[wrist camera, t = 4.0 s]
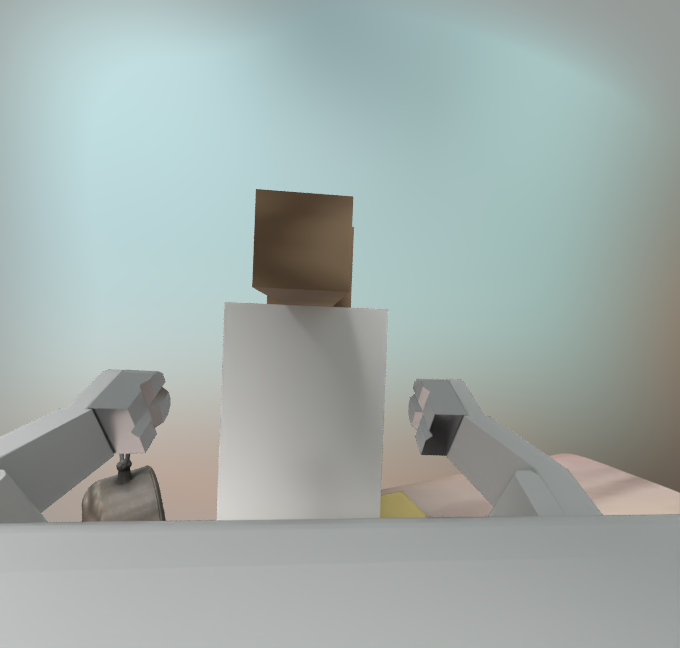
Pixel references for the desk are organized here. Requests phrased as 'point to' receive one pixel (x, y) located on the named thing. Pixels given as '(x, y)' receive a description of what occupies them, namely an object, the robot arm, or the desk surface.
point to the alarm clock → (124, 496)
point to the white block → (301, 412)
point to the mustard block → (399, 507)
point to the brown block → (303, 248)
